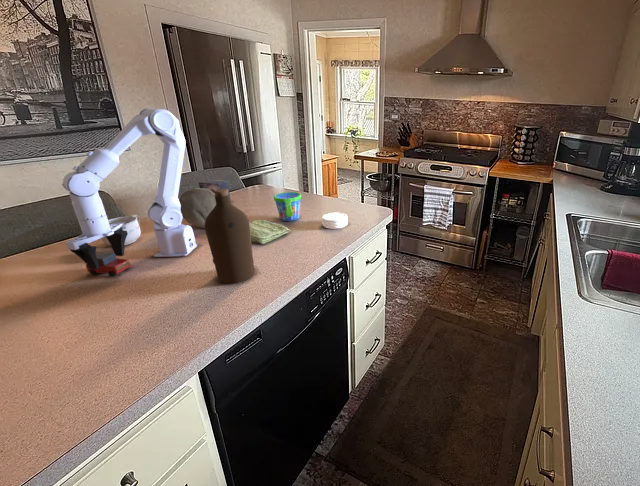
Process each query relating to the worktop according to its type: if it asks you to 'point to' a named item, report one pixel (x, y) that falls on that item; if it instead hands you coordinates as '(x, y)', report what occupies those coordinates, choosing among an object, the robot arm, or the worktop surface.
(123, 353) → the worktop surface
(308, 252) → the worktop surface
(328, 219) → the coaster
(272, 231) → the washcloth
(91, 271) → the toy car
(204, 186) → the small box
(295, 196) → the snack cup
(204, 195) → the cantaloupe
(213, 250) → the olive oil
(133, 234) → the teacup
